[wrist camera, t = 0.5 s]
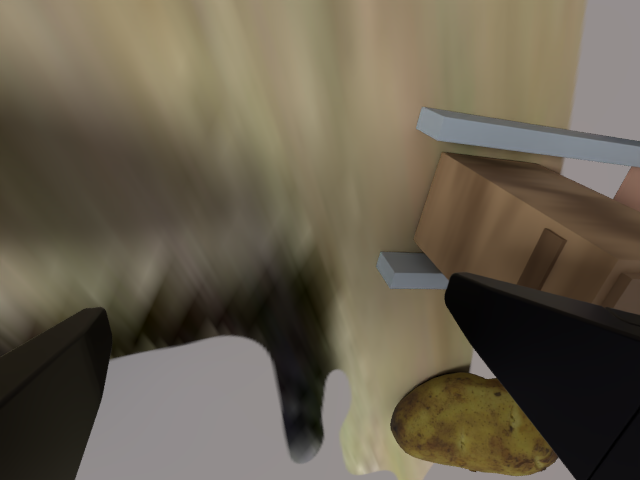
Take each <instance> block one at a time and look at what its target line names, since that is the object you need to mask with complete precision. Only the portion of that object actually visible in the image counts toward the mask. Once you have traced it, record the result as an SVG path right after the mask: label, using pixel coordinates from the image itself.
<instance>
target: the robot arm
mask: <svg viewBox="0 0 640 480" xmlns="http://www.w3.org/2000/svg"><path fill="white" fill-rule="evenodd" d="M445 304H446V306H447V308H448V309H449V311H450V313H451V314H452V316H453V317H454V319H455V321H456V322H457V324H458V325H459V327H460V329H461V330H462V332H463V333H464V335H465V337H466V338H467V340H468V341H469V343H470V344H471V345H472V347H473V348H474V349H475V351H476V352H477V353H478V354H479V356H480V357H481V358H482V360H483V361H484V362H485V363H486V365H487V366H488V367H489V369H490V370H491V371H492V373H493V374H494V375H495V376H496V378H497V379H498V380H499V382H500V383H501V384H502V385H503V387H504V388H505V389H506V391H507V392H508V393H509V394H510V396H511V397H512V398H513V400H514V401H515V402H516V403H517V405H518V406H519V407H520V408H521V410H522V411H523V412H524V414H525V415H526V416H527V417H528V419H529V420H530V421H531V423H532V424H533V425H534V426H535V428H536V429H537V430H538V432H539V433H540V434H541V435H542V437H543V438H544V439H545V441H546V442H547V443H548V444H549V446H550V447H551V448H552V450H553V451H554V452H555V453H556V455H557V456H558V457H559V458H560V460H561V461H562V462H563V464H564V465H565V466H566V468H568V470H569V471H570V473H571V474H572V475H573V476H574V478H575V479H576V480H640V315H638V314H634V313H630V312H626V311H622V310H618V309H614V308H610V307H605V308H604V307H603V306H600V305H596V304H592V303H588V302H584V301H580V300H576V299H572V298H568V297H564V296H560V295H556V294H552V293H548V292H544V291H540V290H536V289H532V288H528V287H524V286H520V285H516V284H512V283H508V282H504V281H500V280H496V279H492V278H488V277H484V276H480V275H476V274H472V273H468V272H457V273H453V274H452V275H451V276H450V279H449V282H448V286H447V289H446V292H445ZM111 348H112V333H111V329H110V325H109V321H108V317H107V313H106V310H105V309H104V308H103V307H95V308H86V309H83V310H81V311H79V312H78V313H76V314H74V315H73V316H71V317H69V318H67V319H66V320H64V321H62V322H60V323H59V324H57V325H55V326H53V327H52V328H50V329H48V330H47V331H45V332H43V333H41V334H40V335H38V336H36V337H34V338H33V339H31V340H29V341H27V342H26V343H24V344H22V345H21V346H19V347H17V348H15V349H14V350H12V351H10V352H8V353H7V354H5V355H3V356H2V357H0V480H75V478H76V475H77V472H78V469H79V466H80V463H81V460H82V457H83V454H84V451H85V448H86V445H87V442H88V439H89V436H90V433H91V430H92V427H93V424H94V421H95V418H96V415H97V412H98V409H99V406H100V403H101V399H102V395H103V391H104V385H105V380H106V375H107V369H108V364H109V359H110V353H111Z"/></svg>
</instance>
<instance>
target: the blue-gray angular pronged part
mask: <svg viewBox="0 0 640 480" xmlns="http://www.w3.org/2000/svg"><path fill="white" fill-rule="evenodd" d="M416 129H418V130H420V131H421V132H423V133H425V134H427V135H428V136H430V137H432V138H434V139H435V140H438V141H445V142H453V143H460V144H468V145H475V146H483V147H490V148H498V149H505V150H513V151H520V152H528V153H536V154H543V155H551V156H558V157H566V158H573V159H581V160H588V161H597V162H604V163H612V164H619V165H626V166H632V167H631V169H630V170H629V172H628V174H627V176H626V178H625V179H624V181H623V183H622V184H621V186H620V188H619V190H618V191H617V193H616V195H615V197H614V199H613V200H615V201H618V202H620V203H622V204H624V205H626V206H628V207H630V208H633V209H635V210H637V211H639V212H640V141H635V140H628V139H622V138H615V137H609V136H603V135H596V134H591V133H584V132H578V131H571V130H565V129H559V128H553V127H546V126H540V125H534V124H528V123H521V122H515V121H509V120H502V119H496V118H490V117H483V116H477V115H471V114H465V113H458V112H452V111H446V110H439V109H433V108H427V107H422V109H421V113H420V116H419V120H418V123H417V127H416ZM376 267H377V269H378V270H379V272H380V274H381V275H382V277H383V278H384V280H385V281H386V283H387V285H388V286H389V288H390V289H447V286H448V282H449V280H448V279H447V278H446V277H445V276H444V275H443V274H442V272H441V271H440V270H439V269H438V268H437V267H436V266H435V264H434V263H433V262H432V261H431V260H430V259H429V258H428V256H427V255H426V254H425V253H402V252H380V255H379V259H378V262H377V266H376Z"/></svg>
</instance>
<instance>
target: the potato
mask: <svg viewBox="0 0 640 480" xmlns="http://www.w3.org/2000/svg"><path fill="white" fill-rule="evenodd" d="M390 426H391V431H392V433H393V435H394V437H395V439H396V441H397V443H398V444H399V445H400V447H401V448H402V449H403V450H404V451H405V452H406V453H407V454H409V455H411V456H413V457H415V458H418V459H422V460H425V461H430V462H434V463H438V464H443V465H450V466H456V467H461V468H465V469H469V470H470V471H473V472H476V471H480V472H488V473H499V474H504V475H511V476H523V475H531V474H534V473H536V472H539V471H543V470H545V469H546V468H547V467H549V466H550V465H551V464H553V463H554V462H555V461H556V460H557V458H558V456H557V455H556V453H555V452H554V451H553V450H552V448H551V447H550V446H549V444H548V443H547V442H546V441H545V439H544V438H543V437H542V435H541V434H540V433H539V432H538V430H537V429H536V428H535V426H534V425H533V424H532V423H531V421H530V420H529V419H528V417H527V416H526V415H525V414H524V412H523V411H522V410H521V408H520V407H519V406H518V405H517V403H516V402H515V401H514V400H513V398H512V397H511V396H510V394H509V393H508V392H507V391H506V389H505V388H504V387H503V385H502V384H501V383H500V382H499V380H498V379H497V378H493V379H485V378H483V377H480V376H477V375H475V374H471V373H466V372H461V373H452V374H447V375H443V376H439V377H436V378H434V379H431V380H429V381H427V382H425V383H424V384H422V385H420V386H418V387H417V388H415V389H414V390H413V391H412V392H410V393H409V394H408V395H407V396H406V397H404V398H403V399H402V400H401V401H400V402H399V403H398V404H397V406H396V407H395V410H394V412H393V415H392V419H391V423H390Z"/></svg>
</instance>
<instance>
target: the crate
mask: <svg viewBox="0 0 640 480" xmlns="http://www.w3.org/2000/svg"><path fill="white" fill-rule="evenodd" d="M413 240H414V242H415V243H416V244H417V245H418V246H419V247H420V248H421V250H422V251H423V252H424V253H425V254H426V255H427V256H428V258H429V259H430V260H431V261H432V262H433V263H434V264H435V266H436V267H437V268H438V269H439V270H440V271H441V272H442V274H443V275H444V276H445V277H446V278H447V279H448V280H449V279H450V276H451V275H452V274H453V273H457V272H468V273H472V274H476V275H480V276H484V277H488V278H492V279H496V280H500V281H504V282H508V283H512V284H516V285H520V286H524V287H528V288H532V289H536V290H540V291H544V292H548V293H552V294H556V295H560V296H564V297H568V298H572V299H576V300H580V301H584V302H588V303H592V304H596V305H600V306H603V307H604V308H605V307H610V308H614V309H618V310H622V311H626V312H630V313H634V314H638V315H640V212H639V211H637V210H635V209H633V208H630V207H628V206H626V205H624V204H622V203H620V202H618V201H615V200H613V199H611V198H609V197H607V196H604V195H602V194H600V193H598V192H596V191H594V190H592V189H589V188H587V187H585V186H583V185H581V184H579V183H577V182H575V181H572V180H570V179H568V178H566V177H564V176H562V175H560V174H557V173H555V172H553V171H551V170H549V169H547V168H545V167H542V166H540V165H538V164H535V163H527V162H519V161H511V160H502V159H494V158H486V157H478V156H470V155H462V154H454V153H446V152H442V154H441V157H440V160H439V163H438V166H437V169H436V172H435V175H434V178H433V181H432V184H431V187H430V190H429V193H428V196H427V199H426V203H425V206H424V209H423V212H422V215H421V218H420V221H419V224H418V227H417V230H416V233H415V236H414V239H413Z"/></svg>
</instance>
